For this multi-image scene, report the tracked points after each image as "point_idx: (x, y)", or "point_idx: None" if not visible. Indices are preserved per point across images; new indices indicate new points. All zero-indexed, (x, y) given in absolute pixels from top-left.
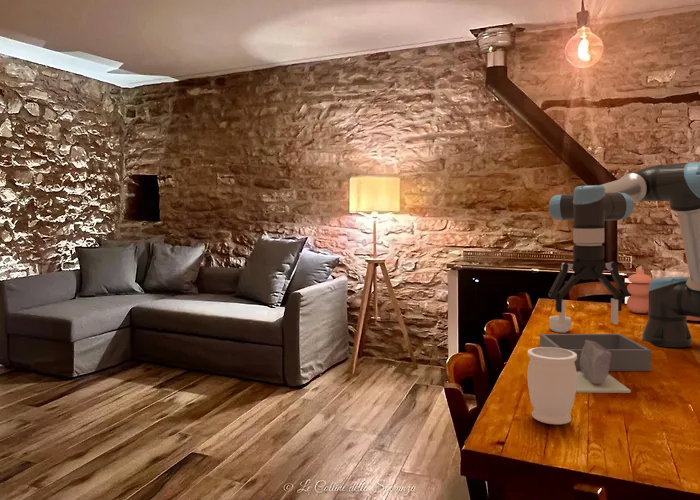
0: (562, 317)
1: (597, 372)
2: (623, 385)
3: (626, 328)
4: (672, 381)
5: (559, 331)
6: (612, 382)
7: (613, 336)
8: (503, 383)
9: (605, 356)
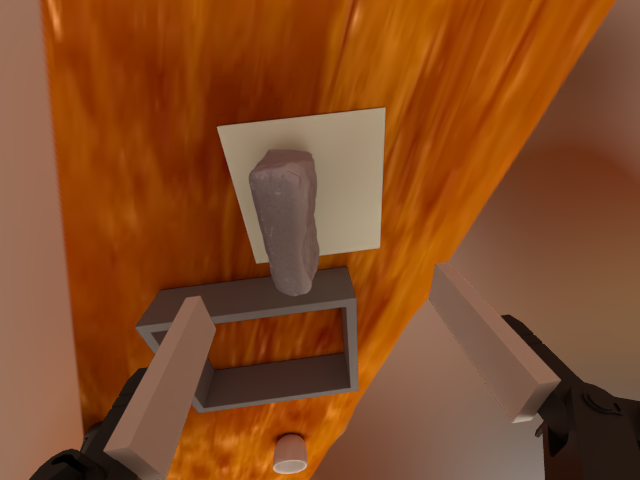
0: (471, 286)
1: (298, 154)
2: (230, 169)
3: (188, 462)
4: (113, 230)
5: (293, 436)
6: None
7: (214, 403)
8: (503, 164)
9: (272, 163)
